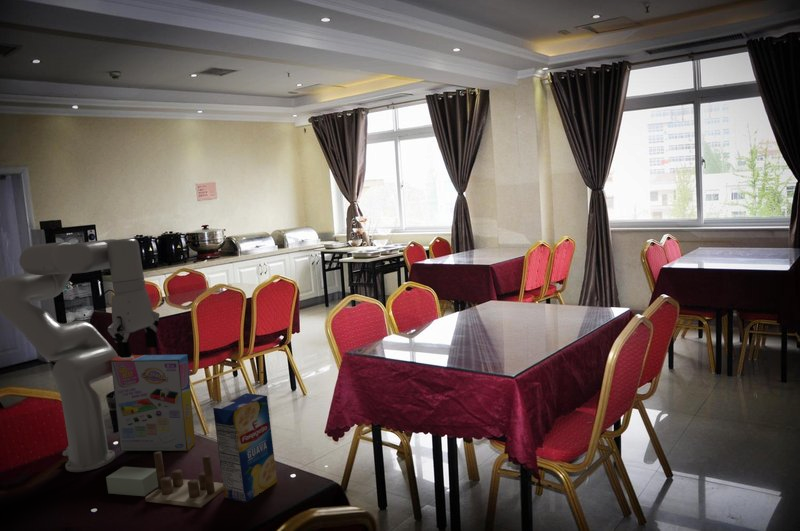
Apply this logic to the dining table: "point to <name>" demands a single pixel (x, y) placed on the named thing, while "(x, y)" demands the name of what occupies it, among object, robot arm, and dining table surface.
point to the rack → (184, 486)
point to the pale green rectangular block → (132, 481)
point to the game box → (153, 402)
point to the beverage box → (245, 446)
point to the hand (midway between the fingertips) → (139, 352)
